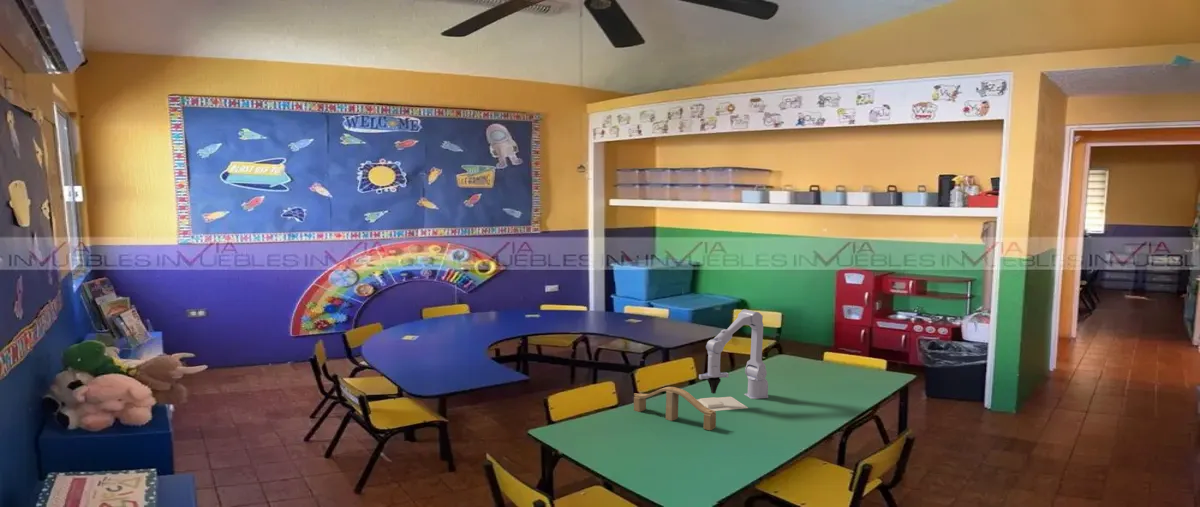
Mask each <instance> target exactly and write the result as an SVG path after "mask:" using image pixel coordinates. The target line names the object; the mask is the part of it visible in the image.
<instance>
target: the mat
mask: <svg viewBox="0 0 1200 507" xmlns="http://www.w3.org/2000/svg"><path fill="white" fill-rule="evenodd" d="M715 398H716V399H718V400H719V401H721V402H722V403H724V407H714V408H708V409H711V410H714V411H716V412H717V411H730V410H739V409H740V410H743V409H749V407H748V406H747V405H745V404H743V403H741V402H740V401H738V400H737V399H736V398H734V397H732V396H723V397H722V396H721V397H715ZM695 399H696V400H698V401H699V399H700V398H698V399H697V398H695ZM700 403H701V402H700ZM701 404H702V403H701ZM702 405H703V404H702ZM703 406H705V405H703ZM705 407H706V406H705ZM706 408H707V407H706Z"/></svg>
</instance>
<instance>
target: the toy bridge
mask: <svg viewBox="0 0 1200 507" xmlns="http://www.w3.org/2000/svg"><path fill="white" fill-rule="evenodd" d="M662 392H665V393H666V394H665V395H666V396H665V420H667V421H670V422H671V421H672V422H673V421H675V420H677V419H679V398H680V397H679V396H681V397H682V398H683V399H685V400H686V401H687V402H688V403H690V405H691V406H693V407H694V408H695V409H696V410H697V411H698V412H701V413H702V414H703V427H702V428H703V429H704V430H707V431H712V430H714V429H716V427H717V426H716V425H717V411H714V410H711V409H708V408H706V407H705V406H703V405H702V404H701V403H700V402H699V401H698V400H696V399H697V398H695V397H694V395H692V394H691V393H690V392H688V391H687V390H685V389H682V388H679V387H675V386H666V387H663V388H660V389H657V390H655V391H652V392H650V393H642V392H639V393H633V396H634V397H633V411H635V412H637V413H641V412H643V411H646V410H647V398H650V397H653V396H654V395H655V396H656V395H657V394H659V393H662Z"/></svg>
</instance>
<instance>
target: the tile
mask: <svg viewBox="0 0 1200 507" xmlns="http://www.w3.org/2000/svg"><path fill="white" fill-rule="evenodd" d="M716 398H717V397H714V396H712V397H703V398H700V397H699V398H698V399H699V402H701V403H702V404H703V405H705V406H706V407H707V408H714V407H724V403H722V402H721V401H719V400H718V399H716Z"/></svg>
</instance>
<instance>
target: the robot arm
mask: <svg viewBox="0 0 1200 507" xmlns="http://www.w3.org/2000/svg"><path fill="white" fill-rule="evenodd" d="M763 316H764V315H762V314H761V313H760V312H759V311H755V310H749V309H747V308H743V309H742V310H741V311H740V312H739V313H738V314H737V317H736V319H735V320H734V321H733V322H732V323H731V324H730V325H729V327H727V329H721V330H720V332H719V333H718V334H717V335H715V337H714V338H711V339H710V340H709V339H708V341H707V342H706V345H705V349H706V350H707V355H708V356H707V372H705V373H702V374H698V379H699V380H701V381H702V380H707V383H708V384H709V388H710V393H711V394H713V395H714V394H716V393H717V392H716V391H717V389H718V386H719V384H720V383H721V378H727V379H728V378H729V373H728V372H721V356H722V355H721V353H722V352H723V350H724V348H725V347H726V344H728V343H729V341H731V339H733V334H734V333H736V332H737V331H738V330H739V329H741V328H742V327H743V326H749V327H750V328H751V338H750V339H751V341H750V342H751V343H750V359H749V360H747V362H746V366H745V368H744V373H745V376H746V378H747V392H746V393H743V395H744V396H746V397H748V398H749V399H751V400H756V399H769V382H768V380H767V379H766V377H767V376H768V375H767V374H768V371H767V366H766V364H765V363H764V360H762V358H763V343H764V341H763V338H764V323H763V318H764V317H763Z"/></svg>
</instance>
